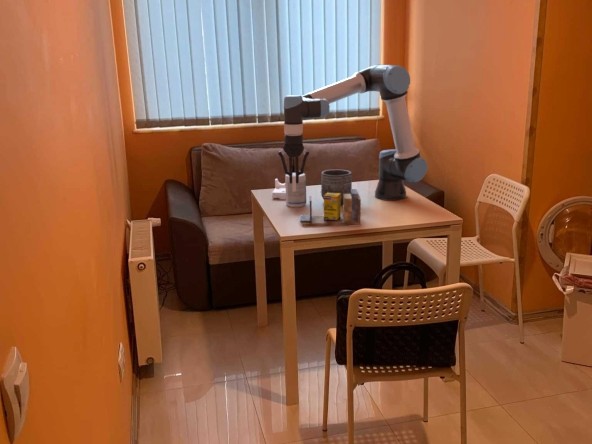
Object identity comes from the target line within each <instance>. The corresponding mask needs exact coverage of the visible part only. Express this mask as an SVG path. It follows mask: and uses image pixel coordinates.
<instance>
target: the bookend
mask: <svg viewBox="0 0 592 444" xmlns="http://www.w3.org/2000/svg"><path fill="white" fill-rule="evenodd" d="M308 199H309V214H300V219H299V221H300V223H302V222H312V216H313V212H312V211H313V210H312V208H313V206H312V202H313V201H312V195H309V198H308Z"/></svg>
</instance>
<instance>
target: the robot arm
mask: <svg viewBox="0 0 592 444" xmlns="http://www.w3.org/2000/svg"><path fill="white" fill-rule="evenodd" d="M410 85H411V76H410V74H409V72H408V70H407V69H406V68H404V67H403V66H401V65H397V64H375V65H371V66H369V67H367V68H364V69H362V70H359V71H356V72H354V73H353V75H352V76H350V77H347V78H345V79H342V80H340V81H336V82H334V83H331V84H329V85H326V86H324V87H321V88H319V89H316V90H314V91H310V92H308V93H305V94H303V95H300V94H296V95H295V94H291V95H288V94H287V95H285V96H284V98H283V130H284V131H283V133H284V141H283V143H284V146H283V149H281V150H279V151H278V152H277V153H278V156H279V157H280V160H281V163H282V164H281V165H282V166H283V171H284V174H285V175H286V174H287V175H289V181H290V183H292V192H296V183H299V175H301V174H303V173H304V171H305V166H306V162H307V157H308V156H309V155H310V151H309V150H307V149H305V147H304V135H303V132H304V131H303V126H304V123H303V122H304V121H303V120H304V119H316V118H318V119H321V118H326V117H327V116H329V113H330V110H331V109H330V108H331V106H330V105H331V104H333V103H335V102H337V101H340V100H341V101H342V100H343V99H345V98H348V97H351V96H353V95H355V94H364V93H367V92H368V93H369V92H379V95H380V100H381V101H383V102H384V103H385V105H386V111H387V114H388V115H387V116H388V121H389V124H390V129H391V133H392V137H393V142H394V146H395V148H393V149H383V150H381V151H380V152H379V155H378V160H379V161H378V182H377V186H376V187H375V191H374V197H375V198H377V199H379V200H384V201H399V200H403V199H406V198H407V190H406V187H405V184H404V181H406V182H409V183H410V182H411V183H418V182H420V181H421V180H422V179H423V178H424V177H425V176H426V174H427V172H428V162H427V160H426V159H424V158H423V157H421V153H420V149H419V148H418V147H416V145H415V140H414V135H413V130H412V126H411V120H410V115H409V111H408V106H407V102H406V97H407V95H408V90H409V88H410ZM285 154H286V155H287V157H288V161H289V162H288V164H289V165H288V166H287V162H286V159H285ZM301 154H302V155H303V158H302V162H301V166H300V165H299V157H300V156H301ZM293 158H294V159H295V160H294V161H295V162H294V163H295V173H296V175H292V173H293ZM299 166H300V167H299ZM288 168H289V169H288ZM299 168H300V169H299Z"/></svg>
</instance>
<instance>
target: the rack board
mask: <svg viewBox="0 0 592 444" xmlns="http://www.w3.org/2000/svg"><path fill="white" fill-rule="evenodd" d="M361 200H362V199H361V196H360V194H359V192H358V191H357V189H356V188H352V189H350V194H343V207H342V209H343V210H342V211H343V214H342V215H341V218H340V219H339V220H338V221H325V220H324V215H312V222H301V223H302V224H301V225H302V227H337V226H338V227H346V226H349V225H359V226H361V213H362V212H361V209H362V207H361V206H362V203H361Z"/></svg>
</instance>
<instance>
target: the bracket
mask: <svg viewBox="0 0 592 444" xmlns="http://www.w3.org/2000/svg"><path fill="white" fill-rule="evenodd" d="M274 187H275V188H274V189H273V191H272V193H271V194H272V199H279V200H286V185H285V182H284V183H281V182H280V181H279V179H278V178H275V179H274Z"/></svg>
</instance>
